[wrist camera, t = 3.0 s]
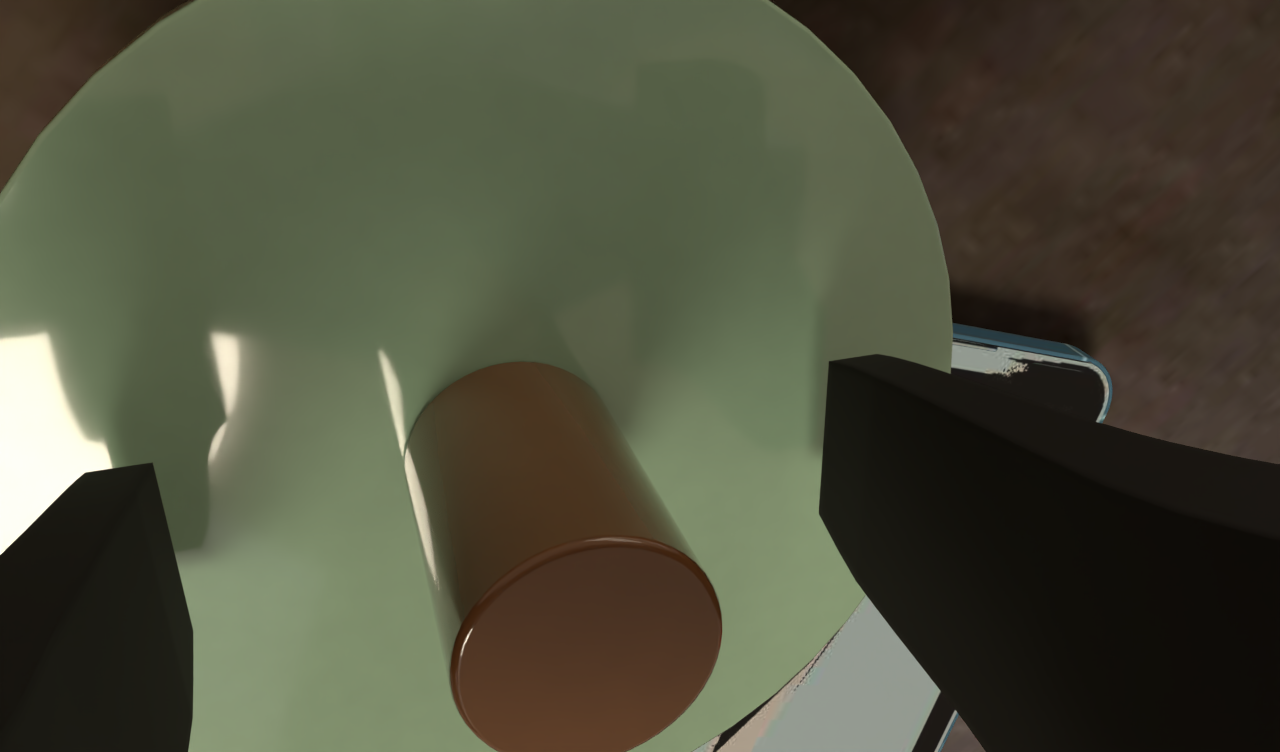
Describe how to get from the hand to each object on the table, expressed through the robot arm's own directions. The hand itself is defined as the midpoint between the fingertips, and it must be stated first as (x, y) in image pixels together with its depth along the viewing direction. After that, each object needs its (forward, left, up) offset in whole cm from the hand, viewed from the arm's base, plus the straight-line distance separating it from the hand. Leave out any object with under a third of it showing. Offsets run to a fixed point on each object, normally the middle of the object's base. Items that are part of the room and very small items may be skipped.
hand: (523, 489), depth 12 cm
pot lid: (0, 0, -1) cm, 1 cm away
